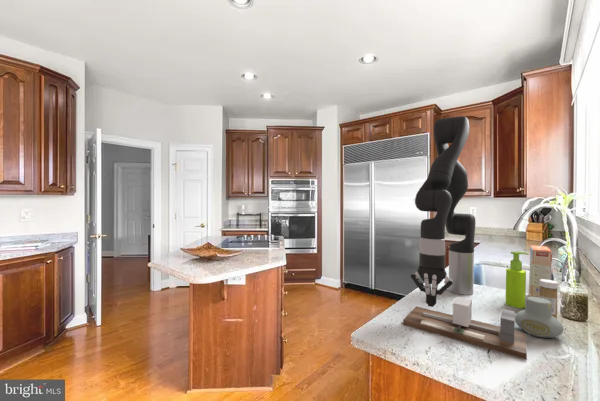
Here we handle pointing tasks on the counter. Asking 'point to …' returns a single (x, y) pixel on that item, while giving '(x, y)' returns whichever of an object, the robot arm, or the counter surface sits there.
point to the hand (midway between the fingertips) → (431, 305)
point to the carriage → (462, 312)
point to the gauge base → (473, 330)
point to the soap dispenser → (516, 282)
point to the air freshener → (539, 319)
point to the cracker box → (539, 268)
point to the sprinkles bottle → (549, 293)
